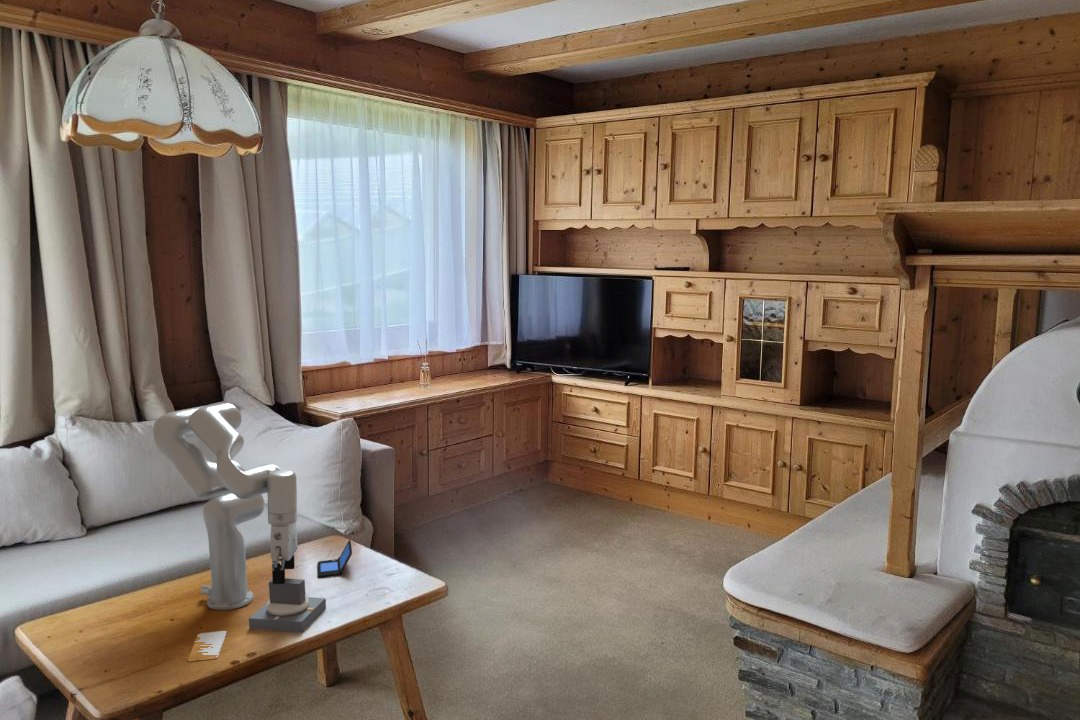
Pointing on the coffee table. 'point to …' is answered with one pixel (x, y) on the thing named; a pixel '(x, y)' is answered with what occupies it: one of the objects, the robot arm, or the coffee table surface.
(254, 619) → the control plate
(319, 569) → the handheld game console
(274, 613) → the dial
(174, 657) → the coffee table surface
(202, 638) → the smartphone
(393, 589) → the coffee table surface
